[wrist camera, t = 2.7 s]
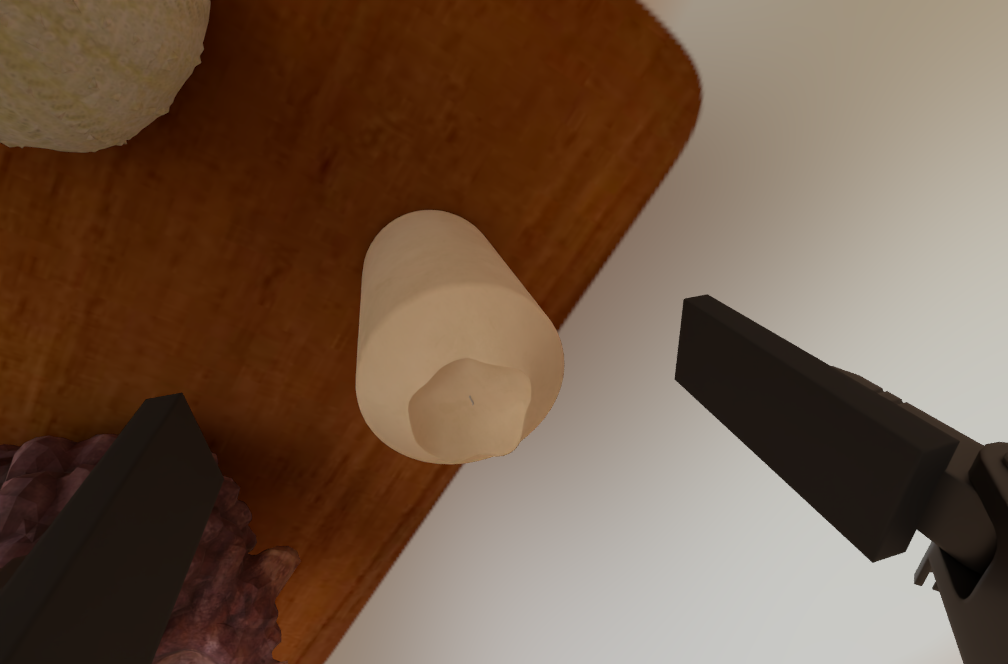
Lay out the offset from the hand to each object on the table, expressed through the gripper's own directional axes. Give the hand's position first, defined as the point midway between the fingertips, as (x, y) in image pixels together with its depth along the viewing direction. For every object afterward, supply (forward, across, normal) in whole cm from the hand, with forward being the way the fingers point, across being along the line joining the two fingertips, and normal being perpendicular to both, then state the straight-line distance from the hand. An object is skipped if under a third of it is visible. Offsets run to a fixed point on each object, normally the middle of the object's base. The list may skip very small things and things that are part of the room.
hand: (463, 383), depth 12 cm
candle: (+8, 0, 0) cm, 8 cm away
